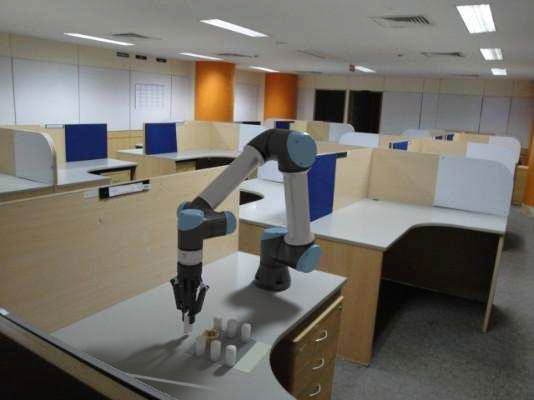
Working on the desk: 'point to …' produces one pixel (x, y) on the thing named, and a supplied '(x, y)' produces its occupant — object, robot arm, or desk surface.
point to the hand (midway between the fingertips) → (188, 331)
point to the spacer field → (231, 347)
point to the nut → (211, 336)
